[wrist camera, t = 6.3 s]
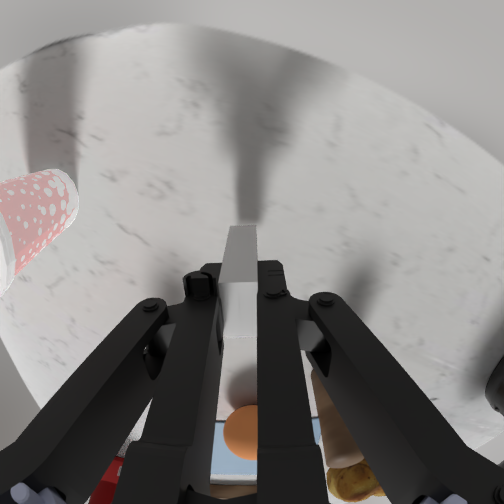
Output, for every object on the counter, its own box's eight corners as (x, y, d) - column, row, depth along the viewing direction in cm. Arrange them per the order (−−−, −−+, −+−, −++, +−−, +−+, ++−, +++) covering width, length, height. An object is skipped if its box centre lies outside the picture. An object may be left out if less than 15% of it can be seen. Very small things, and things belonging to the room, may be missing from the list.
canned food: (93, 452, 34) (74, 509, 24) (136, 457, 33) (120, 521, 23) (119, 474, 37) (106, 527, 27) (160, 479, 36) (150, 536, 26)
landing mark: (324, 417, 28) (324, 418, 28) (310, 470, 33) (310, 471, 33) (188, 420, 28) (188, 421, 28) (208, 472, 34) (208, 473, 34)
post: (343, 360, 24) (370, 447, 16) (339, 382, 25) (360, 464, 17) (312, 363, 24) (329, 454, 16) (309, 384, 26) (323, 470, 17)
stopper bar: (313, 481, 35) (315, 495, 33) (312, 486, 36) (313, 498, 34) (206, 484, 36) (205, 497, 33) (208, 488, 37) (207, 501, 34)
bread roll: (421, 434, 31) (438, 479, 24) (388, 467, 35) (399, 507, 28) (338, 442, 30) (349, 497, 23) (313, 473, 34) (318, 520, 27)
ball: (285, 411, 23) (284, 468, 21) (281, 399, 28) (281, 448, 26) (218, 411, 23) (220, 468, 21) (226, 399, 28) (227, 448, 26)
